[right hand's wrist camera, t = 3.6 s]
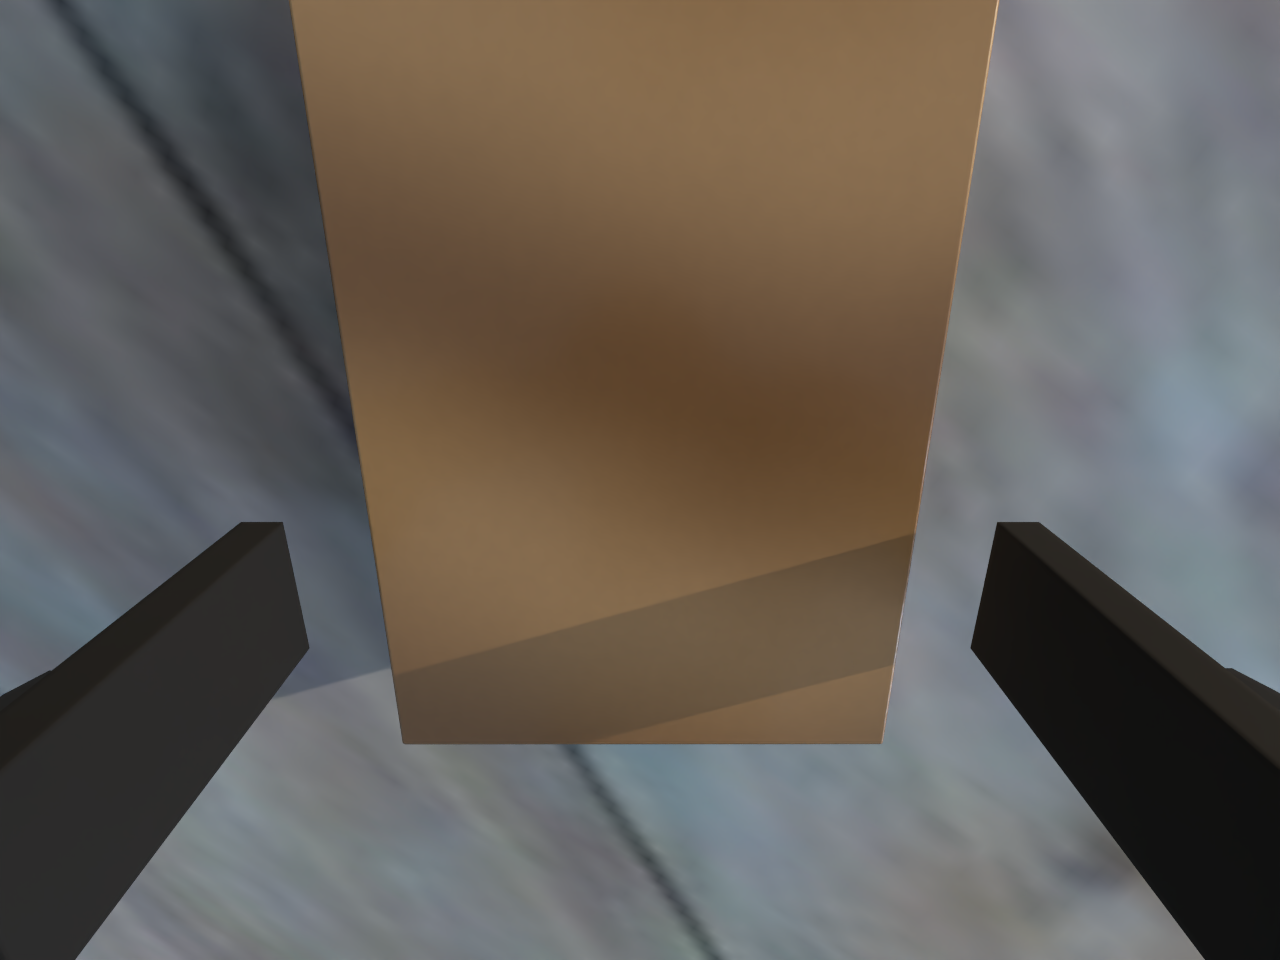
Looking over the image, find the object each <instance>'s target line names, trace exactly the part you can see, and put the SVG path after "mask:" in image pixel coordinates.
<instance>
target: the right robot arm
mask: <svg viewBox="0 0 1280 960" xmlns="http://www.w3.org/2000/svg"><path fill="white" fill-rule="evenodd" d="M308 649H309V644H308V639H307V634H306V629H305V625H304V620H303V615H302V611H301V606H300V601H299V597H298V592H297V587H296V582H295V578H294V573H293V568H292V564H291V559H290V554H289V549H288V545H287V540H286V535H285V531H284V526H283V522H241V523H239V524H238V525H237V526H236V527H234V528H233V529H232V530H230V531H229V532H228V533H227V534H225V535H224V536H223V537H222V538H220V539H219V540H218V541H216V542H215V543H214V544H213V545H211V546H210V547H209V548H208V549H206V550H205V551H204V552H202V553H201V554H200V555H199V556H197V557H196V558H195V559H194V560H192V561H191V562H190V563H188V564H187V565H186V566H185V567H183V568H182V569H181V570H180V571H178V572H177V573H176V574H174V575H173V576H172V577H171V578H169V579H168V580H167V581H166V582H164V583H163V584H162V585H160V586H159V587H158V588H157V589H155V590H154V591H153V592H152V593H150V594H149V595H148V596H146V597H145V598H144V599H143V600H141V601H140V602H139V603H138V604H136V605H135V606H134V607H132V608H131V609H130V610H129V611H127V612H126V613H125V614H124V615H122V616H121V617H120V618H118V619H117V620H116V621H115V622H113V623H112V624H111V625H109V626H108V627H107V628H106V629H104V630H103V631H102V632H101V633H99V634H98V635H97V636H95V637H94V638H93V639H92V640H90V641H89V642H88V643H87V644H85V645H84V646H83V647H81V648H80V649H79V650H78V651H76V652H75V653H74V654H73V655H71V656H70V657H69V658H67V659H66V660H65V661H64V662H62V663H61V664H60V665H59V666H57V667H56V668H55V669H53V670H52V671H48V672H46V673H44V674H42V675H40V676H38V677H36V678H34V679H32V680H30V681H28V682H27V683H25V684H23V685H21V686H19V687H17V688H15V689H13V690H11V691H9V692H7V693H5V694H4V695H2V696H1V697H0V960H75V959H76V958H77V956H78V955H79V954H80V952H81V951H82V950H83V948H84V947H85V946H86V944H87V943H88V942H89V940H90V939H91V938H92V936H93V935H94V934H95V932H96V931H97V930H98V928H99V927H100V926H101V925H102V923H103V922H104V921H105V919H106V918H107V917H108V915H109V914H110V913H111V911H112V910H113V909H114V907H115V906H116V905H117V903H118V902H119V901H120V899H121V898H122V897H123V895H124V894H125V893H126V891H127V890H128V889H129V887H130V886H131V885H132V883H133V882H134V881H135V879H136V878H137V877H138V875H139V874H140V873H141V871H142V870H143V869H144V867H145V866H146V865H147V863H148V862H149V861H150V859H151V858H152V857H153V855H154V854H155V853H156V851H157V850H158V849H159V847H160V846H161V845H162V843H163V842H164V841H165V839H166V838H167V837H168V835H169V834H170V833H171V831H172V830H173V829H174V827H175V826H176V825H177V824H178V822H179V821H180V820H181V818H182V817H183V816H184V814H185V813H186V812H187V810H188V809H189V808H190V806H191V805H192V804H193V802H194V801H195V800H196V798H197V797H198V796H199V794H200V793H201V792H202V790H203V789H204V788H205V786H206V785H207V784H208V782H209V781H210V780H211V778H212V777H213V776H214V774H215V773H216V772H217V770H218V769H219V768H220V766H221V765H222V764H223V762H224V761H225V760H226V758H227V757H228V756H229V754H230V753H231V752H232V750H233V749H234V748H235V746H236V745H237V744H238V742H239V741H240V740H241V738H242V737H243V736H244V734H245V733H246V732H247V730H248V729H249V728H250V726H251V725H252V724H253V722H254V721H255V720H256V719H257V717H258V716H259V715H260V713H261V712H262V711H263V709H264V708H265V707H266V705H267V704H268V703H269V701H270V700H271V699H272V697H273V696H274V695H275V693H276V692H277V691H278V689H279V688H280V687H281V685H282V684H283V683H284V681H285V680H286V679H287V677H288V676H289V675H290V673H291V672H292V671H293V669H294V668H295V667H296V665H297V664H298V663H299V661H300V660H301V659H302V657H303V656H304V655H305V653H306V652H307V651H308ZM971 649H972V651H973V652H974V653H975V655H976V656H977V657H978V659H979V660H980V661H981V663H982V664H983V665H984V667H985V668H986V669H987V671H988V672H989V673H990V675H991V676H992V677H993V679H994V680H995V681H996V683H997V684H998V685H999V687H1000V688H1001V689H1002V691H1003V692H1004V693H1005V695H1006V696H1007V697H1008V699H1009V700H1010V701H1011V703H1012V704H1013V705H1014V707H1015V708H1016V709H1017V711H1018V712H1019V713H1020V715H1021V716H1022V717H1023V719H1024V720H1025V721H1026V722H1027V724H1028V725H1029V726H1030V728H1031V729H1032V730H1033V732H1034V733H1035V734H1036V736H1037V737H1038V738H1039V740H1040V741H1041V742H1042V744H1043V745H1044V746H1045V748H1046V749H1047V750H1048V752H1049V753H1050V754H1051V756H1052V757H1053V758H1054V760H1055V761H1056V762H1057V764H1058V765H1059V766H1060V768H1061V769H1062V770H1063V772H1064V773H1065V774H1066V776H1067V777H1068V778H1069V780H1070V781H1071V782H1072V784H1073V785H1074V786H1075V788H1076V789H1077V790H1078V792H1079V793H1080V794H1081V796H1082V797H1083V798H1084V800H1085V801H1086V802H1087V804H1088V805H1089V806H1090V808H1091V809H1092V810H1093V812H1094V813H1095V814H1096V816H1097V817H1098V818H1099V820H1100V821H1101V822H1102V824H1103V825H1104V826H1105V827H1106V829H1107V830H1108V831H1109V833H1110V834H1111V835H1112V837H1113V838H1114V839H1115V841H1116V842H1117V843H1118V845H1119V846H1120V847H1121V849H1122V850H1123V851H1124V853H1125V854H1126V855H1127V857H1128V858H1129V859H1130V861H1131V862H1132V863H1133V865H1134V866H1135V867H1136V869H1137V870H1138V871H1139V873H1140V874H1141V875H1142V877H1143V878H1144V879H1145V881H1146V882H1147V883H1148V885H1149V886H1150V887H1151V889H1152V890H1153V891H1154V893H1155V894H1156V895H1157V897H1158V898H1159V899H1160V901H1161V902H1162V903H1163V905H1164V906H1165V907H1166V909H1167V910H1168V911H1169V913H1170V914H1171V915H1172V917H1173V918H1174V919H1175V921H1176V922H1177V923H1178V925H1179V926H1180V927H1181V929H1182V930H1183V931H1184V932H1185V934H1186V935H1187V936H1188V938H1189V939H1190V940H1191V942H1192V943H1193V944H1194V946H1195V947H1196V948H1197V950H1198V951H1199V952H1200V954H1201V955H1202V956H1203V958H1204V959H1205V960H1280V693H1278V692H1277V691H1275V690H1273V689H1271V688H1269V687H1267V686H1265V685H1263V684H1261V683H1259V682H1257V681H1255V680H1253V679H1251V678H1250V677H1248V676H1246V675H1244V674H1242V673H1240V672H1238V671H1236V670H1234V669H1232V668H1224V667H1223V666H1221V665H1220V664H1219V663H1218V662H1216V661H1215V660H1214V659H1213V658H1211V657H1210V656H1209V655H1207V654H1206V653H1205V652H1204V651H1202V650H1201V649H1200V648H1199V647H1197V646H1196V645H1195V644H1193V643H1192V642H1191V641H1190V640H1188V639H1187V638H1186V637H1185V636H1183V635H1182V634H1181V633H1179V632H1178V631H1177V630H1176V629H1174V628H1173V627H1172V626H1171V625H1169V624H1168V623H1167V622H1165V621H1164V620H1163V619H1162V618H1160V617H1159V616H1158V615H1156V614H1155V613H1154V612H1153V611H1151V610H1150V609H1149V608H1148V607H1146V606H1145V605H1144V604H1142V603H1141V602H1140V601H1139V600H1137V599H1136V598H1135V597H1134V596H1132V595H1131V594H1130V593H1128V592H1127V591H1126V590H1125V589H1123V588H1122V587H1121V586H1120V585H1118V584H1117V583H1116V582H1114V581H1113V580H1112V579H1111V578H1109V577H1108V576H1107V575H1106V574H1104V573H1103V572H1102V571H1100V570H1099V569H1098V568H1097V567H1095V566H1094V565H1093V564H1092V563H1090V562H1089V561H1088V560H1086V559H1085V558H1084V557H1083V556H1081V555H1080V554H1079V553H1078V552H1076V551H1075V550H1074V549H1072V548H1071V547H1070V546H1069V545H1067V544H1066V543H1065V542H1064V541H1062V540H1061V539H1060V538H1058V537H1057V536H1056V535H1055V534H1053V533H1052V532H1051V531H1050V530H1048V529H1047V528H1046V527H1044V526H1043V525H1042V524H1041V523H1039V522H997V526H996V531H995V535H994V540H993V545H992V549H991V554H990V559H989V564H988V568H987V573H986V578H985V582H984V587H983V592H982V597H981V601H980V606H979V611H978V615H977V620H976V625H975V629H974V634H973V639H972V644H971Z"/></svg>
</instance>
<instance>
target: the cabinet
mask: <svg viewBox="0 0 1280 960" xmlns="http://www.w3.org/2000/svg"><path fill="white" fill-rule="evenodd" d="M289 5H290V11H291V18H292V24H293V31H294V37H295V44H296V50H297V57H298V63H299V70H300V76H301V83H302V89H303V96H304V102H305V109H306V115H307V122H308V128H309V135H310V141H311V148H312V154H313V161H314V167H315V174H316V180H317V187H318V193H319V200H320V207H321V213H322V220H323V226H324V233H325V239H326V246H327V252H328V259H329V265H330V272H331V278H332V285H333V291H334V298H335V304H336V311H337V317H338V324H339V330H340V337H341V343H342V350H343V356H344V363H345V369H346V376H347V382H348V389H349V395H350V402H351V408H352V415H353V421H354V428H355V434H356V441H357V447H358V454H359V461H360V467H361V474H362V480H363V487H364V493H365V500H366V506H367V513H368V519H369V526H370V532H371V539H372V545H373V552H374V558H375V565H376V571H377V578H378V584H379V591H380V597H381V604H382V610H383V617H384V623H385V630H386V636H387V643H388V649H389V656H390V662H391V669H392V675H393V682H394V688H395V695H396V701H397V708H398V714H399V721H400V728H401V734H402V741H403V743H404V744H881V743H882V742H883V737H884V731H885V725H886V718H887V712H888V706H889V699H890V693H891V687H892V680H893V674H894V667H895V661H896V655H897V648H898V642H899V636H900V629H901V623H902V617H903V610H904V604H905V597H906V591H907V585H908V578H909V572H910V566H911V559H912V553H913V547H914V540H915V534H916V527H917V521H918V515H919V508H920V502H921V496H922V489H923V483H924V477H925V470H926V464H927V457H928V451H929V445H930V438H931V432H932V426H933V419H934V413H935V407H936V400H937V394H938V387H939V381H940V375H941V368H942V362H943V356H944V349H945V343H946V337H947V330H948V324H949V317H950V311H951V305H952V298H953V292H954V286H955V279H956V273H957V266H958V260H959V254H960V247H961V241H962V235H963V228H964V222H965V216H966V209H967V203H968V196H969V190H970V184H971V177H972V171H973V165H974V158H975V152H976V146H977V139H978V133H979V126H980V120H981V114H982V107H983V101H984V95H985V88H986V82H987V76H988V69H989V63H990V56H991V50H992V44H993V37H994V31H995V25H996V18H997V12H998V6H999V0H289Z"/></svg>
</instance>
